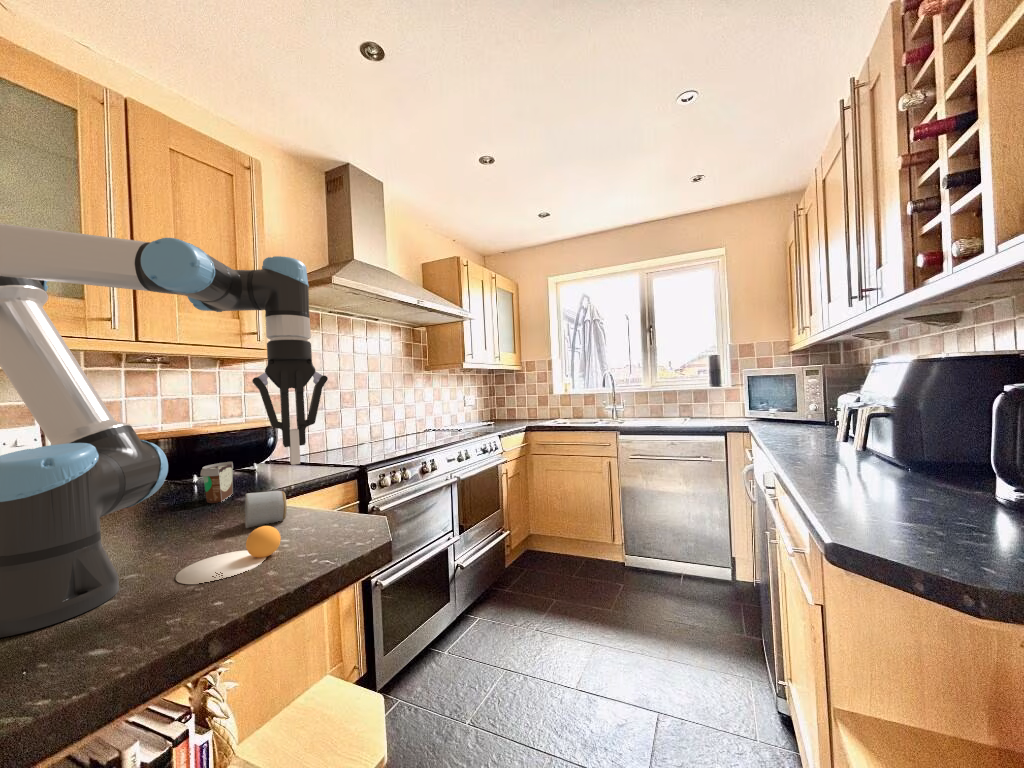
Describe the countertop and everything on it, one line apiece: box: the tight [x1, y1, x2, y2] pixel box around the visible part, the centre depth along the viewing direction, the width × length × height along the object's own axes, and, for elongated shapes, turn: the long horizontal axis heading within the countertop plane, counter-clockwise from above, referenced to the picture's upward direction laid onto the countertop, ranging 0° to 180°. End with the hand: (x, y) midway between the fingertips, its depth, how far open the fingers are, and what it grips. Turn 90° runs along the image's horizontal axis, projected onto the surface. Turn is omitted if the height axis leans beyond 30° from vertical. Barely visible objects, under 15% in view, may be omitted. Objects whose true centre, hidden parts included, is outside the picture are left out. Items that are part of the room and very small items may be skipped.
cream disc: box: [175, 549, 267, 585], centre depth 73 cm, size 13×13×1 cm
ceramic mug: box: [244, 490, 287, 529], centre depth 97 cm, size 11×8×8 cm
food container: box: [199, 461, 234, 504], centre depth 121 cm, size 12×6×10 cm, turn 17°
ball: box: [245, 525, 282, 558], centre depth 76 cm, size 6×6×6 cm
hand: (295, 463), depth 79 cm, fingers closed
